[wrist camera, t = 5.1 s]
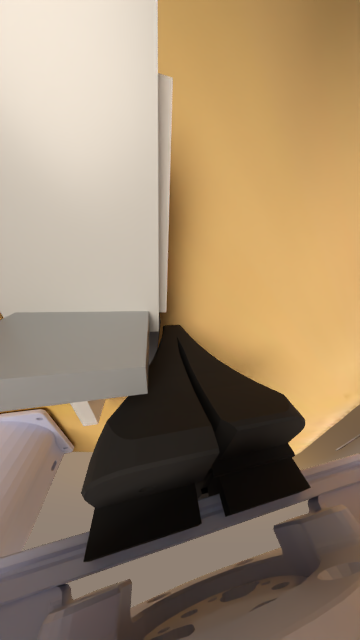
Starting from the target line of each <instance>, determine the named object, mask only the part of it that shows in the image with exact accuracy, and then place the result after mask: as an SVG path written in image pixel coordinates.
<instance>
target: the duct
mask: <svg viewBox="0 0 360 640" xmlns="http://www.w3.org/2000/svg"><path fill="white" fill-rule="evenodd" d="M172 87H173V78H172V77H169V76H166V75H162V74H159V73H158V249H159V312H166V307H167V270H168V233H169V197H170V160H171V124H172ZM104 403H105V399H99V400H91V401H83V402H75V403H70V404H71V406H72V407H73V409H74V411H75V413H76V414H77V416H78V418H79V419H80V421H81V423H82V424H83V426H88V425H94V424H98V423H99V419H100V416H101V413H102V409H103V406H104Z"/></svg>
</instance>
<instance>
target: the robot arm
mask: <svg viewBox="0 0 360 640" xmlns="http://www.w3.org/2000/svg"><path fill="white" fill-rule="evenodd" d="M304 426H305V419H304V418H303V417H302V415H301V414H300V413H299V412H298V411H297V410H296V408H295V407H294V406H293V405H292V404H291V403H290V401H289V400H288V399H287V398H286V397H285V396H284V395H283V394H281V393H279V392H277V391H275V390H272V389H270V388H268V387H266V386H264V385H261V384H259V383H257V382H255V381H253V380H251V379H249V378H247V377H246V376H244V375H242V374H240V373H238V372H236V371H235V370H233V369H231V368H230V367H228V366H227V365H225V364H223V363H222V362H220V361H219V360H217V359H216V358H215V357H213V356H212V355H211V354H209V353H208V352H207V351H206V350H204V349H203V348H202V347H201V346H200V345H199V344H197V343H196V342H195V341H194V340H193V339H192V338H191V337H190V336H189V335H188V333H187V332H186V331H185V330H184V329H183V328H182V327H181V326H180V325H167V326H164V327H163V335H162V338H161V342H160V344H159V347H158V349H157V352H156V354H155V356H154V358H153V360H152V362H151V363H150V365H149V367H148V394H140V395H132V396H128V397H127V398H126V399H125V400H124V402H123V403H122V404H121V405H120V406H119V408H118V409H117V410H116V411H115V412H114V413H113V415H112V416H111V417H110V418H109V419H108V421H107V422H106V424H105V426H104V428H103V430H102V433H101V435H100V437H99V439H98V442H97V444H96V446H95V449H94V452H93V455H92V457H91V460H90V463H89V467H88V470H87V474H86V477H85V481H84V485H83V488H82V492H81V494H82V496H83V497H84V500H85V501H87V502H88V503H89V504H91V505H92V506H93V507H95V510H94V515H93V519H92V524H91V528H90V531H89V532H86V533H82V534H79V535H75V536H72V537H69V538H66V539H62V540H58V541H55V542H52V543H48V544H44V545H41V546H38V547H34V548H31V549H27V550H24V551H22V549H23V547H24V545H25V544H26V542H27V540H28V538H29V536H30V534H31V531H32V529H33V527H34V524H35V522H36V519H37V517H38V515H39V512H40V510H41V508H42V505H43V503H44V500H45V498H46V496H47V493H48V491H49V488H50V486H51V484H52V481H53V479H54V477H55V474H56V472H57V469H58V467H59V465H60V462H61V460H62V457H63V455H64V454H65V453H70V452H72V451H73V449H74V446H73V445H72V443H71V442H70V441H69V440H68V438H67V437H66V436H65V435H64V433H63V432H62V431H61V429H60V428H59V427H58V426H57V424H56V423H55V422H54V421H53V419H52V418H51V417H50V416H49V414H48V413H47V412H46V411H45V410H43V409H36V410H28V411H20V412H12V413H4V414H0V640H360V453H358V454H355V455H351V456H348V457H344V458H341V459H337V460H334V461H331V462H327V463H324V464H320V465H317V466H313V467H310V468H307V469H303V470H299V468H298V467H297V465H296V463H295V462H294V460H293V459H292V457H294V456H295V454H294V452H293V450H292V449H291V447H290V446H289V444H288V442H289V441H291V440H292V439H293V438H294V437H295V436H296V435H297V434H299V433H300V432H301V431H302V430H303V428H304ZM308 499H309V500H308ZM305 500H308V507H309V513H308V514H305V515H301V516H298V517H295V518H292V519H289V520H286V521H284V522H281V523H279V524H277V525H274V532H275V534H276V537H277V539H278V541H279V544H280V546H281V548H278V549H275V550H272V551H269V552H266V553H264V554H261V555H258V556H255V557H252V558H250V559H247V560H244V561H241V562H238V563H236V564H233V565H230V566H227V567H224V568H222V569H219V570H216V571H214V572H211V573H209V574H206V575H204V576H201V577H199V578H196V579H194V580H191V581H189V582H187V583H184V584H182V585H180V586H177V587H175V588H173V589H171V590H169V591H167V592H164V593H162V594H160V595H158V596H156V597H153V598H151V599H149V600H147V601H145V602H142V603H140V604H138V605H136V606H134V607H132V608H130V607H131V591H132V582H131V580H130V579H128V580H125V581H122V582H119V583H116V584H113V585H110V586H107V587H104V588H101V589H99V590H96V591H93V592H91V593H89V594H86V595H84V596H82V597H80V598H78V599H75V600H73V599H72V596H71V588H70V587H69V585H68V584H66V583H68V582H71V581H74V580H77V579H80V578H83V577H86V576H89V575H92V574H94V573H97V572H100V571H103V570H106V569H109V568H112V567H115V566H118V565H121V564H123V563H126V562H129V561H132V560H135V559H138V558H140V557H144V556H147V555H149V554H152V553H155V552H158V551H161V550H163V549H167V548H170V547H172V546H175V545H178V544H181V543H184V542H187V541H190V540H193V539H196V538H198V537H201V536H204V535H207V534H210V533H213V532H216V531H219V530H221V529H224V528H227V527H230V526H233V525H236V524H239V523H242V522H245V521H248V520H251V519H253V518H256V517H259V516H262V515H265V514H268V513H270V512H274V511H276V510H279V509H282V508H285V507H288V506H291V505H294V504H297V503H300V502H302V501H305Z"/></svg>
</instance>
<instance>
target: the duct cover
mask: <svg viewBox="0 0 360 640" xmlns="http://www.w3.org/2000/svg"><path fill="white" fill-rule="evenodd" d="M0 313H1V314H2V316H3V317H4V318H3V319H1V320H0V412H2V411H10V410H18V409H26V408H34V407H42V406H50V405H59V404H67V403H75V402H83V401H91V400H99V399H107V398H115V397H123V396H132V395H140V394H148V365H149V334H150V332H155V331H159V249H158V0H0Z"/></svg>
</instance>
